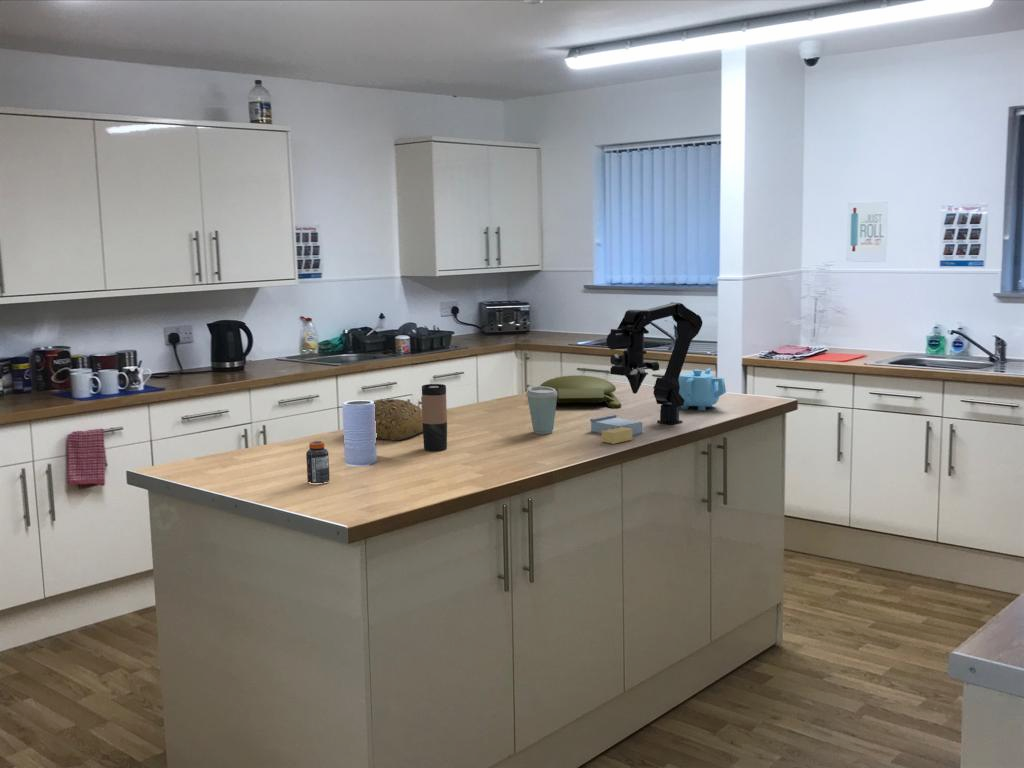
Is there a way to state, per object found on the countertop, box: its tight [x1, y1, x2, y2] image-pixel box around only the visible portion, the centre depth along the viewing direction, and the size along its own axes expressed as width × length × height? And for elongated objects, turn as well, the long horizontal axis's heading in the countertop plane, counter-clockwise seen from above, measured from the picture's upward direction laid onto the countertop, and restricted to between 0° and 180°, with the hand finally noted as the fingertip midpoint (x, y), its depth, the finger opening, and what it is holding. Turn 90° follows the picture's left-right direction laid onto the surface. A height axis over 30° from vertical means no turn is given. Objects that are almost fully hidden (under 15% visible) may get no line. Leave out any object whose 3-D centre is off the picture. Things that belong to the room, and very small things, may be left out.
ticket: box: [589, 414, 643, 436], centre depth 334 cm, size 11×14×4 cm
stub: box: [601, 427, 633, 445], centre depth 319 cm, size 9×5×4 cm, turn 131°
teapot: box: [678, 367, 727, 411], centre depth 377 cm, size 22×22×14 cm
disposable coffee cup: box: [525, 385, 558, 435], centre depth 334 cm, size 11×11×15 cm
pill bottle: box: [305, 440, 331, 483], centre depth 272 cm, size 6×6×11 cm
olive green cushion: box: [539, 375, 622, 409], centre depth 393 cm, size 35×31×10 cm
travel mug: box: [421, 383, 448, 452], centre depth 310 cm, size 8×8×20 cm
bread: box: [373, 398, 423, 441], centre depth 335 cm, size 24×21×12 cm
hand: (634, 393), depth 338 cm, fingers closed
